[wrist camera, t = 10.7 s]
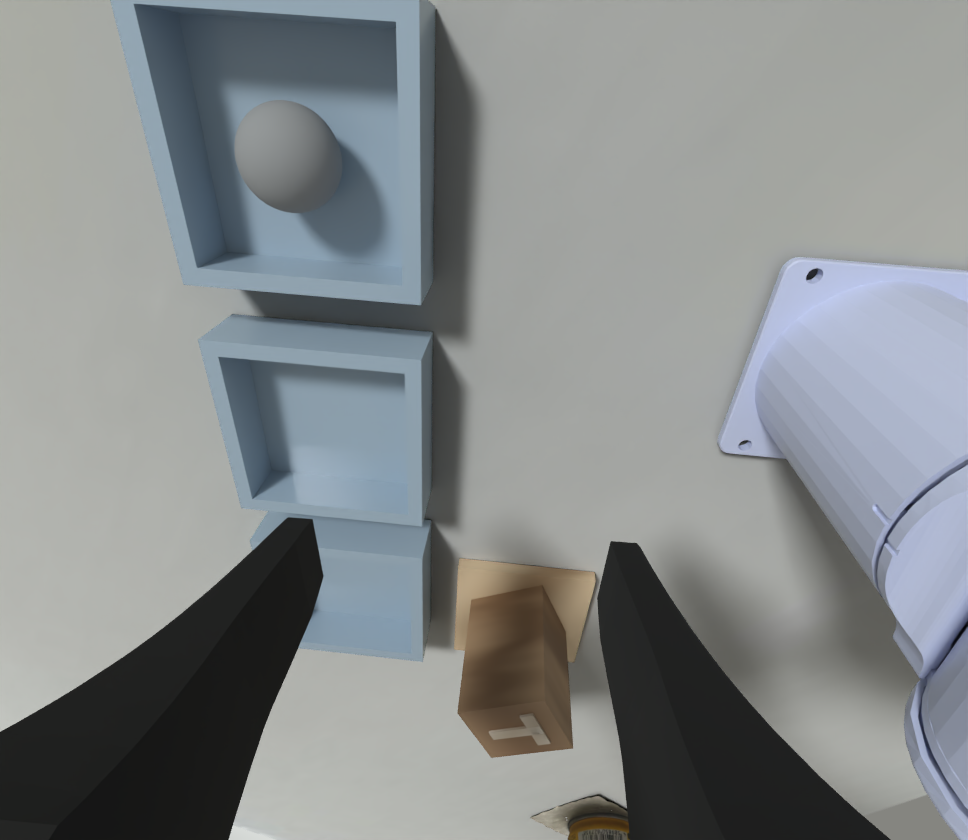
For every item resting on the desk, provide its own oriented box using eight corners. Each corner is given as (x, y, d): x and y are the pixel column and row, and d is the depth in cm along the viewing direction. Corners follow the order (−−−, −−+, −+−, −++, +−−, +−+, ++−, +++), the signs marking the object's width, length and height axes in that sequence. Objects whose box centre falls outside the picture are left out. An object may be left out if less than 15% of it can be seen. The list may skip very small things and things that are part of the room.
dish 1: (435, 6, 15) (419, -7, 13) (433, 281, 19) (421, 305, 17) (162, -13, 15) (103, -29, 13) (221, 263, 19) (183, 284, 17)
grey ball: (350, 102, 16) (316, 105, 13) (357, 206, 17) (328, 226, 15) (254, 95, 16) (202, 96, 13) (270, 199, 18) (226, 218, 15)
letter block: (542, 584, 27) (544, 702, 22) (565, 631, 29) (573, 750, 23) (471, 599, 28) (457, 715, 23) (498, 643, 30) (491, 759, 24)
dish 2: (432, 331, 20) (421, 359, 18) (431, 489, 25) (422, 526, 22) (232, 314, 20) (198, 340, 18) (265, 472, 25) (241, 508, 23)
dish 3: (431, 520, 26) (422, 558, 24) (430, 621, 30) (422, 661, 28) (272, 503, 26) (249, 540, 24) (294, 607, 30) (276, 645, 28)
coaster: (594, 572, 27) (595, 581, 26) (573, 653, 30) (574, 662, 30) (459, 558, 27) (458, 567, 26) (455, 640, 31) (454, 649, 30)
